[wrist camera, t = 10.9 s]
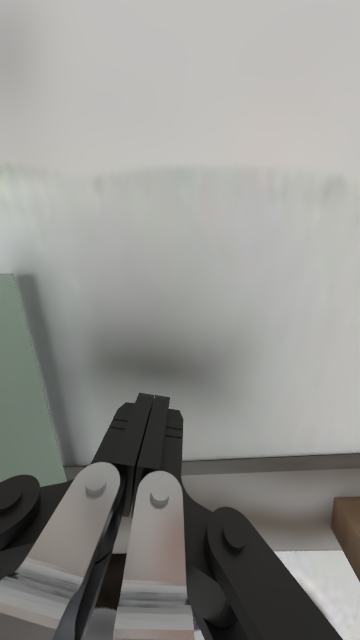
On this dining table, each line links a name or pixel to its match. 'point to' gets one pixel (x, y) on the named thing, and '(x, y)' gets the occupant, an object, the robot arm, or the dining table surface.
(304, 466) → the gate frame
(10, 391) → the gate
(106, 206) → the dining table surface
